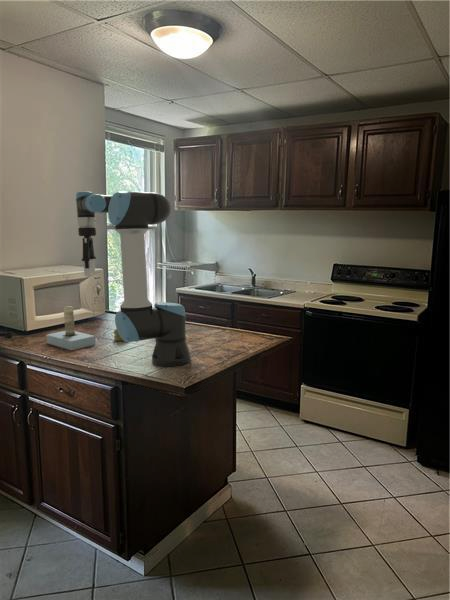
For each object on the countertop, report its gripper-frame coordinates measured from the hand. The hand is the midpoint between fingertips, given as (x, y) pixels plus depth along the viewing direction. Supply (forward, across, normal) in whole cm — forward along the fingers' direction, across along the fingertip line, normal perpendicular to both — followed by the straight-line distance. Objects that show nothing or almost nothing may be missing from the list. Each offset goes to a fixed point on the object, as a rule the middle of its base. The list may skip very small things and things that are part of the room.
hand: (90, 274), depth 202 cm
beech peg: (+30, -3, +10) cm, 32 cm away
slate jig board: (+31, -3, +10) cm, 33 cm away
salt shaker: (+31, 0, -13) cm, 34 cm away
